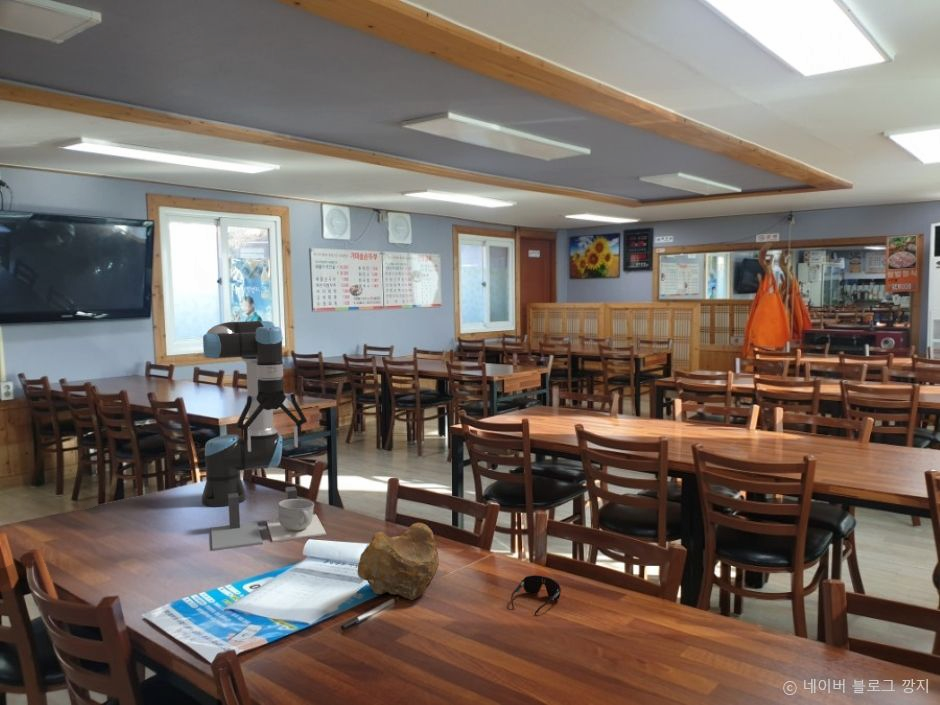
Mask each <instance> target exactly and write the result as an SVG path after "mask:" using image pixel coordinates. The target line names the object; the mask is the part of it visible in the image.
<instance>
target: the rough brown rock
mask: <svg viewBox="0 0 940 705" xmlns="http://www.w3.org/2000/svg"><path fill="white" fill-rule="evenodd" d="M439 565H440V562H439V551H438V549H437V544H436V541H435V538H434V533H433V531H432V529H431V528H430V527H429V525H427V524H425V523H422V522H415V523H413V524H411V525H410V526H409V527H408V528H407V529H406V531H404V533H402V534H401V535H398V536H397V535H396V536H392V537H391V536H390V537H389V536H387V534H386V533H385V532H383V531H378V532H375V533H373V535H372V536H371V541H370V543H369V544H368V545H367V547H366V548H365V549H364V550H363V552H362V553H361V554H360V557H359V562H358V564H357V576H358V578H360V579H362V580H364V581H367V583H368V585H369V586H370V588H371V590H372V591H373V593H374V594H376V595H384V594H386V593H389V594H390V595H399V596H401V597H403V598H404V599H408V600H410V601H413V600H415V599H417V598H419V597H420V596H421V595H422V594H423V592H424V591H425V589H426V588H427V585H428V584H429V583H431V581H433V579H434V577H435V576H436V575H437V574H436V573H437V570H438V568H439Z"/></svg>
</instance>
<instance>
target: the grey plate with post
mask: <svg viewBox="0 0 940 705" xmlns="http://www.w3.org/2000/svg"><path fill="white" fill-rule="evenodd" d="M287 499H298V490H297V488H296V486H287V487H285V500H287ZM266 524H267V528H268V531H269V534H270V537H271V541H272V543H275V542H284V541H285V542H286V541H292V540H297V539H300V540H301V539H306V538H313V537H321V536H327V532H326V530H325V528H324V525H322V523H321V520H320V519H319V517H318V515H317V514H316V513H315V514H314V513H313V518H312V522H311V524H310V525H309V526H307V527H306V528H305V529H303V530H287V529H285V528H284V527H283V526H282V525H281V524H280V522H279V518H277V519H276V518H275V519H268V520H266Z"/></svg>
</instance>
